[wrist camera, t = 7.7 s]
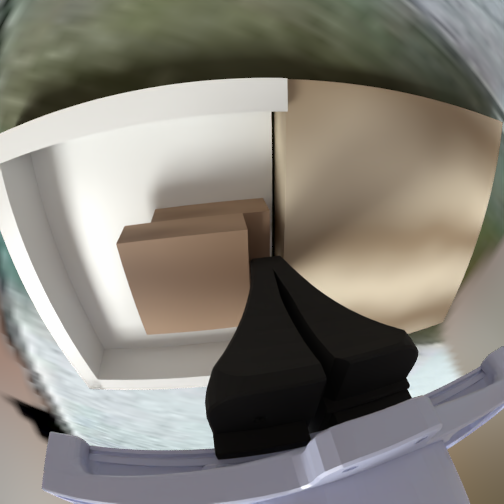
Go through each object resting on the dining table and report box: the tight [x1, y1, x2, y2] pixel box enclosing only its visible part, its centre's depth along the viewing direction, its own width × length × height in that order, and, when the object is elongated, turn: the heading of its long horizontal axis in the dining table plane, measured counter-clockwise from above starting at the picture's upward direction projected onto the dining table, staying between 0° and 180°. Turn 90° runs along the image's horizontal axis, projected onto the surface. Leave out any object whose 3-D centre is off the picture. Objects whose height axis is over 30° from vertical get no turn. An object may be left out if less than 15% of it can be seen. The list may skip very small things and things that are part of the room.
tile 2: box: [151, 198, 270, 284], centre depth 14 cm, size 5×5×2 cm
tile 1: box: [116, 213, 250, 335], centre depth 12 cm, size 5×5×2 cm
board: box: [274, 79, 503, 334], centre depth 15 cm, size 16×14×2 cm
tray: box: [0, 78, 288, 390], centre depth 13 cm, size 16×13×3 cm
